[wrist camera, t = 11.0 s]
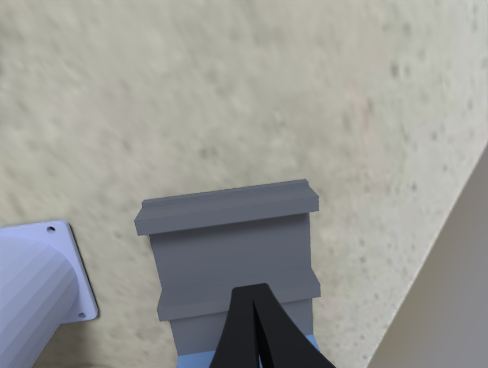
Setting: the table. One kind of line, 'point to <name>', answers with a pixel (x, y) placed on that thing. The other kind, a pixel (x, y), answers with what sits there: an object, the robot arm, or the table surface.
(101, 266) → the table surface
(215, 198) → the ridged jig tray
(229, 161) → the table surface
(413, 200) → the table surface
